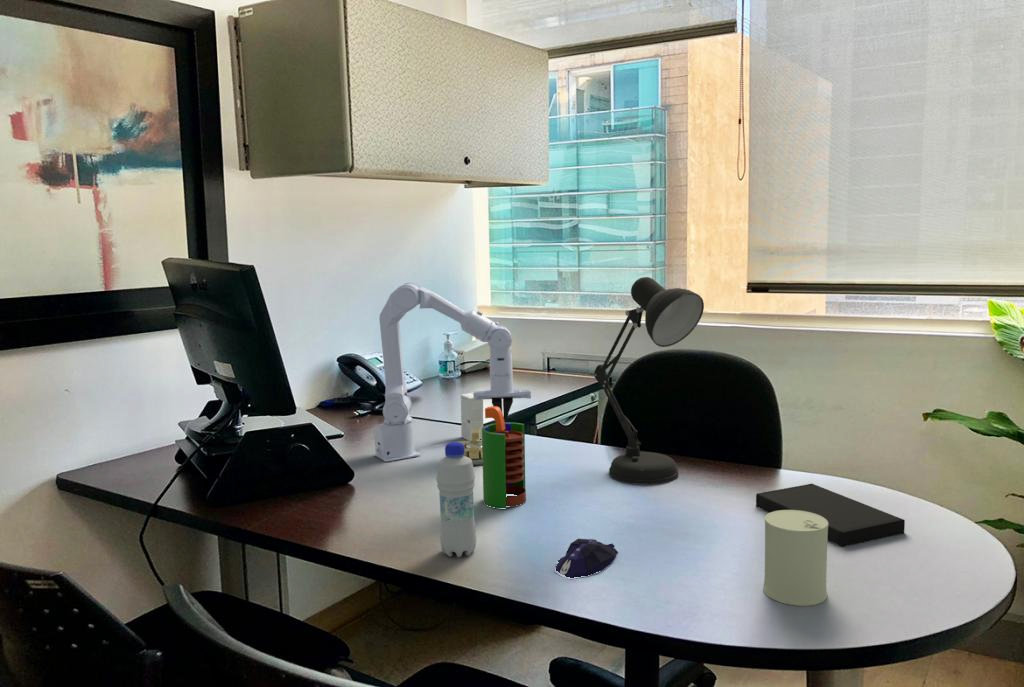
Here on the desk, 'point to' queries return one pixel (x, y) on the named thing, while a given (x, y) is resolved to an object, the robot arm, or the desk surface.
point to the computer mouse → (586, 558)
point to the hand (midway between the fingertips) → (503, 426)
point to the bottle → (456, 501)
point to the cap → (476, 461)
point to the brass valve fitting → (473, 446)
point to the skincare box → (471, 415)
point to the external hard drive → (834, 513)
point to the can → (795, 557)
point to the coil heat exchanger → (503, 461)
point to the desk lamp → (666, 326)
